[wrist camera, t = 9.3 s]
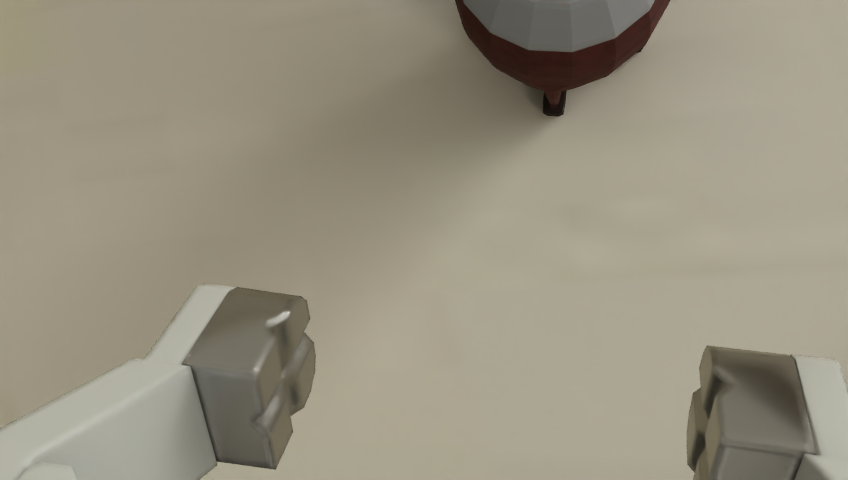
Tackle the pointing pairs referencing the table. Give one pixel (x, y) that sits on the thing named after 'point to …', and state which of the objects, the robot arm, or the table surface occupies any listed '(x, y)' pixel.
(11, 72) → the table surface
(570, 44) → the mate gourd
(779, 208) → the table surface
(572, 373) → the table surface
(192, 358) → the robot arm
